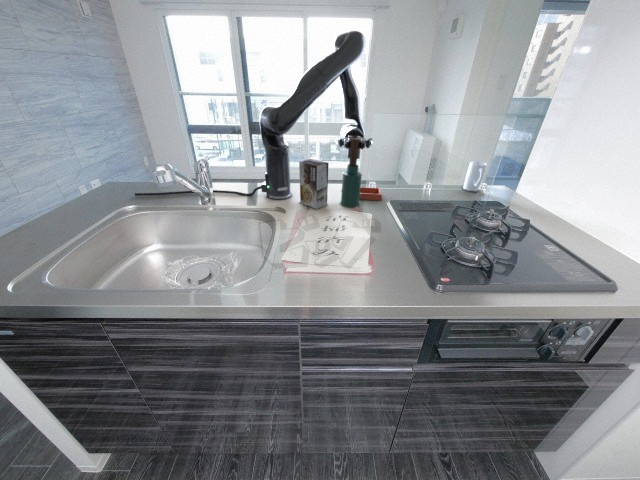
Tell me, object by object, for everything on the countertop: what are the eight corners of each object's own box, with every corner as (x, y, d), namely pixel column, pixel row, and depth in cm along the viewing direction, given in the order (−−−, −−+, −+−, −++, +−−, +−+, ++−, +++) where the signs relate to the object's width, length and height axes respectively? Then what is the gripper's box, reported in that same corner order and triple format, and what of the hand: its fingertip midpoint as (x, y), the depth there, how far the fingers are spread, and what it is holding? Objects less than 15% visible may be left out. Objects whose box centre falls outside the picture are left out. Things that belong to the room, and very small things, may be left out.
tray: (357, 199, 108) (358, 193, 107) (357, 192, 116) (357, 186, 114) (380, 200, 108) (381, 194, 107) (378, 193, 115) (379, 188, 114)
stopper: (346, 165, 94) (348, 139, 90) (346, 162, 98) (348, 137, 94) (359, 166, 94) (362, 139, 89) (358, 163, 98) (361, 137, 93)
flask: (340, 206, 101) (343, 167, 93) (341, 200, 107) (343, 162, 99) (358, 207, 100) (362, 168, 93) (358, 201, 106) (362, 163, 99)
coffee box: (327, 205, 102) (329, 162, 94) (316, 209, 98) (317, 165, 90) (311, 198, 107) (311, 158, 100) (299, 203, 103) (298, 160, 95)
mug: (460, 186, 126) (468, 161, 120) (475, 187, 126) (483, 161, 120) (468, 193, 118) (476, 166, 112) (484, 194, 117) (493, 167, 111)
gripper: (336, 127, 104) (334, 133, 89) (373, 128, 103) (377, 135, 88) (335, 147, 107) (333, 156, 92) (370, 149, 106) (374, 158, 92)
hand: (354, 145), depth 90 cm, fingers closed on stopper, 4 cm apart
